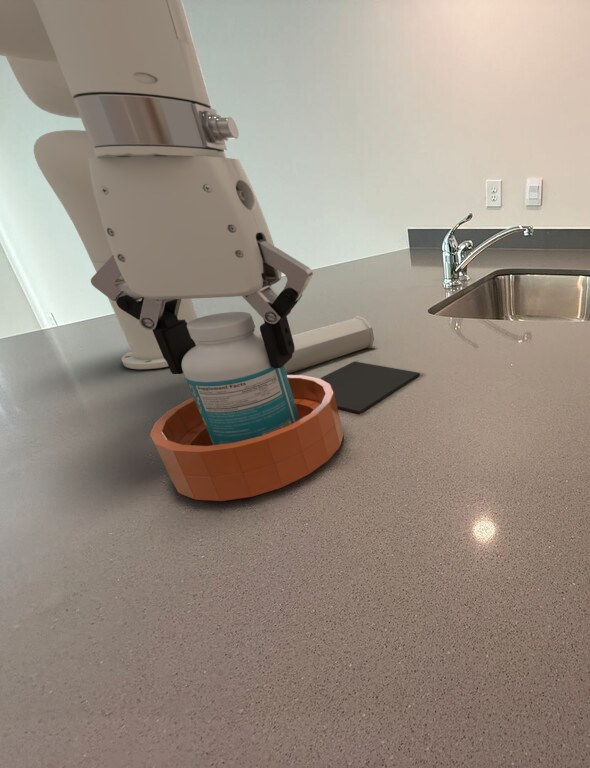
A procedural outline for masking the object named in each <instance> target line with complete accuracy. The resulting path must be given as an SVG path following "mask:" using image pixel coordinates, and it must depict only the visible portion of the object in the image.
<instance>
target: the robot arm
mask: <svg viewBox="0 0 590 768" xmlns="http://www.w3.org/2000/svg"><path fill="white" fill-rule="evenodd" d="M186 12H187V11H186V8H185V6H184V2H183V0H0V56H2V57H6V59H7V62H8V64H9V67H10V68H11V70H12V73H13V75H14V76H15V78H16V81H17V82H18V84H19V86H20V87H21V89H22V91H23V92H24V94H25V95H26V96H27V98H28V99H29V100H30V101H31V102H32V103H33V104H34V105H35V106H36V107H38V108H39V109H40V110H42V111H44V112H47V113H49V114H52V115H55V116H59V117H60V116H61V117H65V118H72V119H80V120H81V122H82V123H81V124H82V125H83V127H84V130H83V129H82V130H81V129H64V130H54V131H49V132H46V133H44V134H42V135H40V136H39V137H38V138H37V139H36V140H35V142H34V145H33V155H34V159H35V161H36V163H37V166H38V168H39V170H40V171H41V173H42V175H43V177H44V179H45V180H46V182H47V183H48V186H50V188H51V189H52V191H53V193H54V194H55V195H56V197H57V199H58V201H59V202H60V204H61V205H62V206H63V209H64V210H65V212H66V213H67V215H68V217H69V218H70V219H69V220H71V222H72V224H73V226H74V228H75V230H76V232H77V234H78V236H79V238H80V240H81V242H82V244H83V247H84V248H85V251H86V252H87V255H88V257H89V259H90V261H91V264H92V266H93V268H94V270H95V274H94V275H93V276H92V277H91V279H90V284H91V285H92V286H93V287H94V288H95V289H96V290H97V291H99V292H100V293H101V294H103V295H104V296H105V297H107V299H108V301H109V304H110V306H111V308H112V310H113V312H114V315H115V317H116V319H117V321H118V324H119V326H120V328H121V331H122V332H123V334H124V337H125V339H126V342H127V344H128V347H129V348H130V351H128V352H127V353H124V355H123V356H122V357H121V362H122V365H123V366H124V367H125V368H127V369H130V370H131V369H132V370H153V369H154V370H155V369H163V368H169V370H170V373H171V374H172V375H182V374H184V372H183V370H182V360H183V357H184V356H185V354H186V353H187V352H188V351H189V350H190V349H192V348H193V347H195V346H197V343H196V342H194V341H193V339H192V338H191V337H190V334H189V331H188V328H187V324H188V323H189V322H190V321H193V320H195V319H198V318H199V317H198V315H197V312H196V309H195V306H194V303H193V300H192V299H211V298H212V299H214V298H215V299H216V298H234V297H242V298H243V299H244V300H245V301H246V302H247V303H248V304H249V305H250V307H251V308H253V309H254V311H255V312H256V313H257V314H258V315H259V316H260V317H261V318H262V320H263V323H261V324H260V326H259V331H260V335H261V336H262V338H263V342H264V345H265V348H266V352H267V355H268V358H269V362H270V365H271V367H273V368H282V367H283V366H284V365H285V364H286V363H287V362H288V361H289V360H290V359H291V358H292V354H293V353H294V350H295V347H294V342H293V339H292V335H293V334H292V332H291V328H290V325H289V319H288V316H289V315H290V314H291V313H292V312H291V311H292V310H293V309H294V307H295V306H296V305H297V303H298V302H299V301H300V300H301V298H302V297H303V293H304V291H305V290H306V289H307V286H308V285H309V283H310V281H311V279H312V277H313V275H314V273H313V270H312V268H310V267H309V266H307V265H306V264H304V263H303V262H301V261H299V260H297V259H296V258H294V257H293V256H291V255H289V254H288V253H286V252H285V251H283V250H282V249H279V248H278V247H277V246H275V243H274V240H273V238H272V237H273V236H272V235H271V231H270V229H269V226H268V223H267V220H266V218H265V215H264V212H263V210H262V208H261V205H260V202H259V199H258V198H257V195H256V192H255V191H254V188H253V186H252V184H251V182H250V179H249V177H248V175H247V173H246V171H245V169H244V167H243V165H242V163H241V161H240V160H239V158H238V159H237V158H230V157H227V155H226V152H225V151H227V150H228V149H227V145H226V142H228V141H229V140H237V139H238V138H239V129H238V127H237V124H236V121H235V120H234V119H233V117H230V116H221V115H219V114H218V113H217V110H216V109H213V108H214V107H213V105H212V102H211V99H210V98H211V97H210V95H209V91H208V88H207V84H206V80H205V77H204V73H203V69H202V66H201V62H200V59H199V55H198V52H197V49H196V45H195V41H194V38H193V34H192V31H191V28H190V24H189V21H188V20H189V19H188V17H187V13H186ZM282 274H284V276H285V277H286V279H287V280H286V283H285V286H284V288H283V289H282V290H281V291H280V293H279V292H278V291H277V290H276V289H275V288H274V287H273V285H275V284H277V283H278V282H280V281H281V279H282Z"/></svg>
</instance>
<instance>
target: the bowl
mask: <svg viewBox="0 0 590 768" xmlns="http://www.w3.org/2000/svg"><path fill="white" fill-rule="evenodd" d="M287 378H288V381H289V385H290V388H291V391H292V395H293V398H294V402H295V405H296V408H297V412H298V415H299V419H300V420H298V421H296V422H294V423H293V424H291V425H289V426H286V427H284V428H281V429H279V430H276V431H273V432H271V433H268V434H266V435H263V436H259V437H255V438H251V439H247V440H243V441H239V442H235V443H227V444H219V445H213V443H212V441H211V438H210V436H209V433H208V431H207V429H206V426H205V424H204V421H203V419H202V416H201V414H200V411H199V409H198V406H197V404H196V402H195V399H194V397H193V396H192V397H190V398H188V399H185V400H184V401H182V402H181V403H179V404H177V405H175V406H174V407H172V408H170V409H168V410H167V411H166V412H165V413H164V414H163V415H161V417H159V418H158V419H157V420H156V421H155V422H154V424H153V426H152V429H151V431H150V434H149V436H150V438H151V440H152V443H153V444H154V446H155V448H156V451H157V453H158V455H159V458H160V460H161V461H162V464H163V466H164V467H165V470H166V472H167V474H168V476H169V478H170V480H171V482H172V484H173V486H174V487H175V489H176V492H177V493H178V494H181V495H183V496H185V497H188V498H190V499H193V500H195V501H211V502H214V501H215V502H226V501H232V500H238V499H239V500H240V499H245V498H253V497H255V496H259V495H262V494H265V493H268V492H271V491H275V490H279V489H282V488H283V487H285V486H288V485H290V484H292V483H294V482H297V481H299V480H300V479H302V478H304V477H306V476H309V475H310V474H312V472H314V471H316V470H317V469H318V468H320V467H321V466H323V465H324V464H325V463H327V462H328V461H329V460H330V459H331V458H332V457H333V455H334V454H335V453H336V452H337V451H338V450H339V449H340V447H341V444H342V442H343V437H344V431H343V426H342V422H341V417H340V414H339V409H338V408H337V404H336V400H335V395H334V392H333V390H332V387H331V385H330V384H329V383H327V382H325V381H324V380H322V379H320V377H315V376H309V375H303V374H287Z"/></svg>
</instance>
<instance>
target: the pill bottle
mask: <svg viewBox="0 0 590 768" xmlns="http://www.w3.org/2000/svg"><path fill="white" fill-rule="evenodd" d="M187 328H188V331H189V334H190V337H191V338H192V339H193V341H194V342H196V343H197V346H195V347H193V348H192V349H190V350H189V351H188V352H187V353H186V354H185V356H184V357H183V360H182V370H183V372H184V373H183V375H184V377H185V380H186V382H187V384H188V387H189V390H190V392H191V395H192V397H194V399H195V402H196V404H197V406H198V409H199V411H200V414H201V416H202V419H203V421H204V424H205V426H206V429H207V431H208V433H209V436H210V438H211V441H212V443H213V445H219V444H227V443H235V442H239V441H243V440H247V439H251V438H255V437H259V436H263V435H266V434H268V433H271V432H273V431H276V430H279V429H281V428H284V427H286V426H289V425H291V424H293V423H294V422H296V421H298V420H300V419H299V415H298V412H297V408H296V405H295V402H294V398H293V395H292V391H291V388H290V385H289V381H288V378H287V375H288V374H286V370H285V367H284V366H283V367H282V368H273V367H271V365H270V362H269V358H268V355H267V352H266V348H265V345H264V342H263V338H262V335H261V334H255V333H254V332H255V331H256V329H255V328H256V324H255V322H254V318H253V316H252V315H251V313H249V312H245V311H230V312H229V311H228V312H219V313H214V314H210V315H204V316H201V317H198V319H195V320H193V321H190V322H189V323H188V324H187Z"/></svg>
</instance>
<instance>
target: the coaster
mask: <svg viewBox="0 0 590 768" xmlns="http://www.w3.org/2000/svg"><path fill="white" fill-rule="evenodd" d="M420 375H421V374H420V372H418V371H412V370H405V369H400V368H395V367H394V368H393V367H390V366H389V367H388V366H383V365H376V364H371V363H365V362H359V361H352V362H350V363H348V364H346V365H344V366H342V367H340V368H338V369H336V370H334V371H332V372H330V373H327V374H326V375H324V376H322V377H319V379H322V380H324V381H325V382H327V383H329V384H330V385H331V387H332V390H333V392H334V395H335V400H336V404H337V408H338V410H342V411H345V412H349V413H354V414H359V415H361V414H362V413H364V412H365V411H367V410H369V409H371V408H372V407H373V406H375V405H377V404H378V403H379V402H381V401H382V400H385V398H387V397H390V395H391V394H393V393H395V392H396V391H398V390H399V389H401V388H402V387H404V386H405V385H407V384H408V383H410V382H412V381H413V380H415V379H416V378H418V377H419V376H420Z"/></svg>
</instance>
